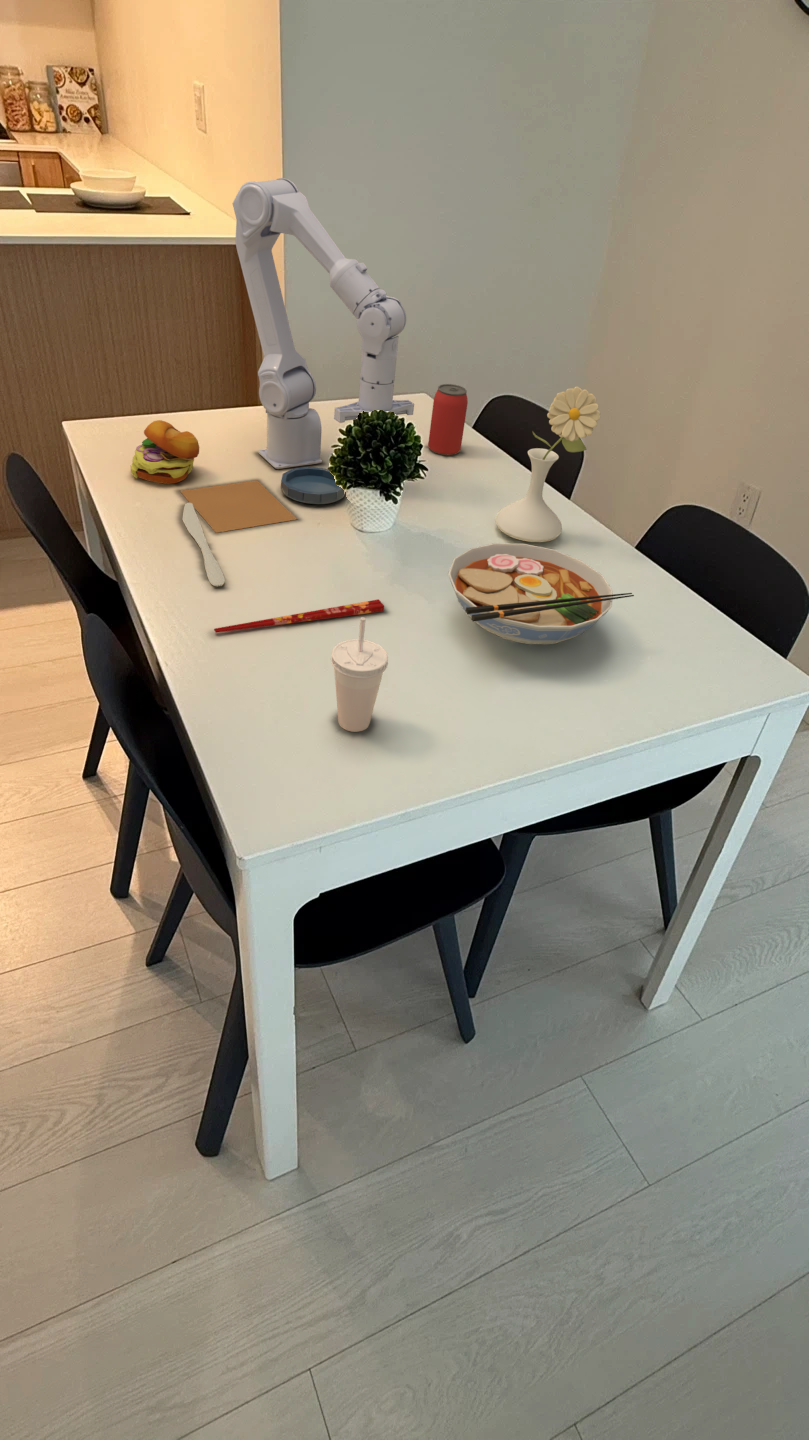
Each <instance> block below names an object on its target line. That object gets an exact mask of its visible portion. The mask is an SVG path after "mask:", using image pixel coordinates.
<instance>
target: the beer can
mask: <svg viewBox="0 0 809 1440" xmlns="http://www.w3.org/2000/svg"><path fill="white" fill-rule="evenodd" d="M467 392H468V390H467V389H466V388H465V387H463V386H461V385H457V384H454V383H453V384H452V383H443V384H439V385H438V386H437V390H436V392H435V394H434V397H433V402H432V411H431V419H430V427H429V435H428V443H427V447H428V448H429V451H431V452H433V453H435V454H437V455H440V456H455V455H456V454H459V453H460V452H461V449H462V444H463V438H464V437H463V436H464V429H465V423H466V418H467V417H466V416H467V410H468V404H469V403H468V401H469V400H468V395H467Z"/></svg>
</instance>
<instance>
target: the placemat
mask: <svg viewBox="0 0 809 1440" xmlns="http://www.w3.org/2000/svg"><path fill="white" fill-rule="evenodd" d="M179 492H180V493H181V494H182V496H183V497H184V498H185V499H186V500H187V501H188V503H192V504H193V507H194V510H195V511H197V513H198V514H199V515H200V516H201V517H202V518H203V520H204V521H205V522H206V523H207V525H209V526H210V527H211V529H212V530H213V531H214V532H215V534H218V533H224V532H230V531H236V530H242V529H248V528H254V527H261V526H267V525H272V524H278V523H285V522H290V521H291V522H292V521H296V520H298V518H297V517H296V516H295V515H294V514H293V513H292V512H291V511H290V510H289V509H288V508H286V507H285V505H283V504H282V502H280V501H279V500H278V499H277V498H276V497H275V496H274V495H273V494H272V493H271V492H270V491H269V490H268V489H267V488H266V487H265V486H264V485H263V484H261V482H259V481H258V480H256V479H255V480H249V481H241V482H233V483H227V484H226V483H225V484H219V485H213V486H205V487H197V488H191V489H184V490H183V489H182V490H179Z"/></svg>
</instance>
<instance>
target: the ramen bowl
mask: <svg viewBox="0 0 809 1440" xmlns="http://www.w3.org/2000/svg"><path fill="white" fill-rule="evenodd" d="M447 576H448V577H449V580H450V583H451V586H452V588H453V591H454V594H455V596H456V598H457V601H458V602H459V604H460V606H461V608H462V610H463V611H464V612H465V613H466V614H467V615H468V617H469V618H470V620H471V621H472V622H474V623H476V624H478V625H479V626H480V627H481V628H482V629H484V631H487V632H489V633H490V634H493V635H495V636H498V637H500V638H502V639H504V640H506V641H511V642H516V643H520V644H524V645H554V644H557V643H561V642H564V641H568V640H571V639H574V638H576V637H578V636H580V635H582V634H583V633H585V632H587V630H589V629H590V628H591V627H593V626H594V625H595V624H596V623H597V622H598V621H600V619H601V618H603V617H604V616H605V615H606V614H607V613H608V612H609V611H610V610H611V608H613V600H618V599H624V598H630V597H635V595H634V594H633V593H632V592H626V593H614V590H613V589H612V587H611V586H610V584H609V583H608V582H607V580H606V578H605V577H604V575H603V574H602V573H600V572H599V571H597V570H596V569H594V568H593V567H591V566H590V565H588V564H587V563H586V562H584V561H583V560H581V559H579V558H576V557H574V556H571V555H569V554H566V553H564V552H561V551H559V550H556V549H553V548H549V547H543V546H537V545H532V544H527V543H504V542H494V543H488V544H485V545H479V546H476V547H471V548H469V549H467V550H466V551H464V552H462V553H460V554H459V555H457V556H456V557H454V558H453V559H452V562H451V565H450V567H449V569H448V573H447Z"/></svg>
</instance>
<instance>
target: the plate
mask: <svg viewBox="0 0 809 1440" xmlns="http://www.w3.org/2000/svg"><path fill="white" fill-rule="evenodd" d="M329 470H330V469H328V468H324V467H314V466H300V467H293V468H291V469H289V470H287V471H285V472H284V473H282V475H281V479H280V489H281V491H282V493H283V494H284V496H286V497H287V498H289V499H291V500H293V501H297V502H300V503H305V504H309V505H311V504H312V505H326V504H331V503H336V502H338V501H341V499H343V498H344V497H345V495H344V490H343V489H342V488H341V487H339V486H337V485H336V483H335V479H334V476H333V475H332V474H331V473H330V471H329Z"/></svg>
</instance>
